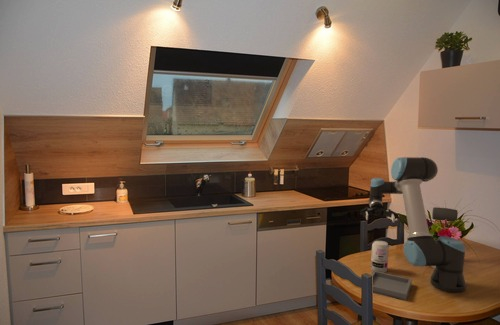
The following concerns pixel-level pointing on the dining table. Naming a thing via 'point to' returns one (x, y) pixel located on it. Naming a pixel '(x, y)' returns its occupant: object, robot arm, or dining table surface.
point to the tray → (391, 285)
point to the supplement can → (379, 256)
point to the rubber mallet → (444, 214)
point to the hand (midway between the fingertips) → (380, 218)
